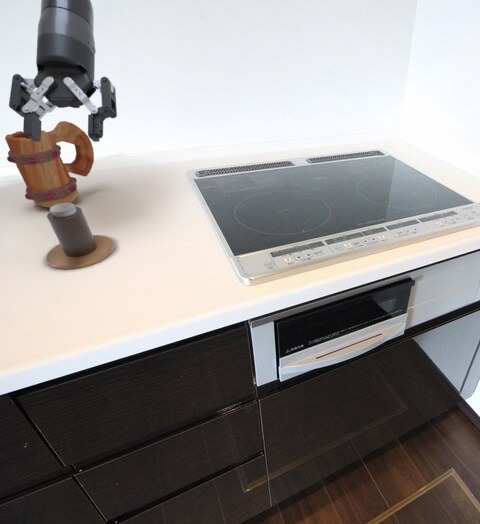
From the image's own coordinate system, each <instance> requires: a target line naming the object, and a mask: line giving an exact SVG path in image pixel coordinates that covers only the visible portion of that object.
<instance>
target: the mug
mask: <svg viewBox="0 0 480 524" xmlns="http://www.w3.org/2000/svg"><path fill="white" fill-rule="evenodd" d="M4 139H5V142H6V145H7V146H8V149H9V150H8V151H7V155H8V156H7V157H6V160H7V162H9V163H13V164H15V165H16V168H17V170H18V172H19V174H20V175H21V177H22V180H23V182H24V184H25V186H26V189H25V192H26V193H25V194H24V198H25V199H26V200H29V201H30V200H31V201H33V202H34V204H35V205H36V206H38V207H42V208H51V207H52V206H54V205H57V204H60V203H73V202H74V201H75V200H76V199H77V197H78V196H79V193H80V191H79V190H78V185H77V182H78V180H77V178H76V177H73V176H70V174H69V173H71V174H74V175H78V176H81V177H87V176H88V175H89V174H90V173H91V170H92V168H93V166H94V162H95V151H94V147H93V143H92V140H91V139H90V138H89V136H88V133H86V132H85V131H84V130H83V129H81V128H80V127H79V126H78V125H76V124H74V123H73V122H70V121H66V120H62V121H59V122H58V123H57V124H56V126H55V127H54V128H53V129H52V130H50V131H46V130H42V129H41V141H40V142H35V141H33V140H31V139H30V138H29V137H28V136H27V135H26V134H25V133H24V131H22V130H19V131H15V132H13V133H11V134H9V133H8V134H6V135H5V136H4ZM61 142H63V143H67V144H71V145H74V148H75V157H74V159H73V161H72V162H67V163H66V162H64V161H63V159H62V157H61V154H62V152H61V150H62V147H61V145H59V144H57V143H61Z"/></svg>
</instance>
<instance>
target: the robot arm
mask: <svg viewBox="0 0 480 524" xmlns="http://www.w3.org/2000/svg"><path fill="white" fill-rule="evenodd" d="M94 15H95V14H94V7H93V4H92V1H91V0H41V1H40V16H39V21H38V23H37V37H36V39H37V41H36V60H35V62H36V69H37V73H36V76H34V78H27V77H25V78H24V77H23V76H22V75H21V74H19V73H15V74H13V76H12V79H11V86H10V93H9V94H10V95H9V101H8V107H9V108H10V109H11V110H12V111H13V112H15V113H16V114H17V115H19V116H20V117H22V118H23V125H22V126H23V128H22V130H23V131H22V132H24V133H25V134H26V135H27V136H28V137H29V138H30V139H31V140H33V141H35V142H40V141H41V130H42V123H43V122H42V119H43V117H44V116H46V114H47V113H52V112H53V111H54V110H55V109H56V108H59V109H64V108H65V109H66V108H72V109H80V107H82V106H84V107H85V108H86V109H87V110H88V111H89V112H90V114H88V115H87V136H88V137H89V139H90V141H92V142H95V143H96V142H97V143H99V142H100V140H101V139H102V138H103V136H104V121H105V120H106V119H108V118H111V119H115V118H117V117H118V110H117V94H116V92H117V91H116V86H114V85H113V83H112V81H111V80H110V79H109V78H108V77H107V76H102V77H101V78H100V80H95V65H96V64H95V63H96V61H95V60H96V54H97V53H96V52H97V51H96V42H95V37H94V29H95V28H94V25H95V23H94V21H95V20H94V19H95V17H94ZM97 91H98V92H99V93H100V96H101V97H100V98H101V106H99V107H97V106H96V105H95V104H94V103H93V101H92V100H91V97H92V96H93V95H94V94H95V93H96V92H97ZM44 98H45V99H46V100H47V101H46V102H45V101H44V100H43V99H44Z"/></svg>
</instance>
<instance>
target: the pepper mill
mask: <svg viewBox="0 0 480 524" xmlns="http://www.w3.org/2000/svg"><path fill="white" fill-rule="evenodd" d="M46 219H47V220H48V223H49V224H50V226H51V229H52V230H53V233H54V234H55V236H56V238H57V240H58V244H60V245H61V247H62V249H63V251H64V253H65V255H66V256H69V257H80V256H84V255H87V254H90V253H92V252H93V251H94V250H95V249H96V248H97V245H96V242H95V240H94V237H93V235H94V234H93V233H92V231H91V229H90V226H89V223H88V220H87V219H86V216H85V213H84V212H83V209H82V208H81V207H80V206H76V205H75V204H74V203H73V202H71V203H60V204H57V205H54V206H52V207H49V212H48V213H47V214H46Z"/></svg>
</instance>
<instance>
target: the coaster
mask: <svg viewBox="0 0 480 524" xmlns="http://www.w3.org/2000/svg"><path fill="white" fill-rule="evenodd" d="M92 235H93V237H94V240H95V242H96V245H97V248H96V249H95V250H94V251H93V252H92V253H90V254H87V255H84V256H80V257H69V256H66V255H65V253H64V251H63V249H62V247H61V245H60V243H58V244H56V245H55V246H54V247H52V248H51V249H50V250H49V251H48V252H47V254H46V257H45V258H46V262H47V264H48V265H50V266H51V267H53V268H55V269H59V270H75V269H80V268H85V267H89V266H91V265H95V264H97V263H100V262H101V261H103V260H105V259H106V258H108V257H109V256H110V255H111V254H112V253H113V252H114V250H115V242H114V241H113V239H112V238H110V237H109V236H105V235H100V234H92Z"/></svg>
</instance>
